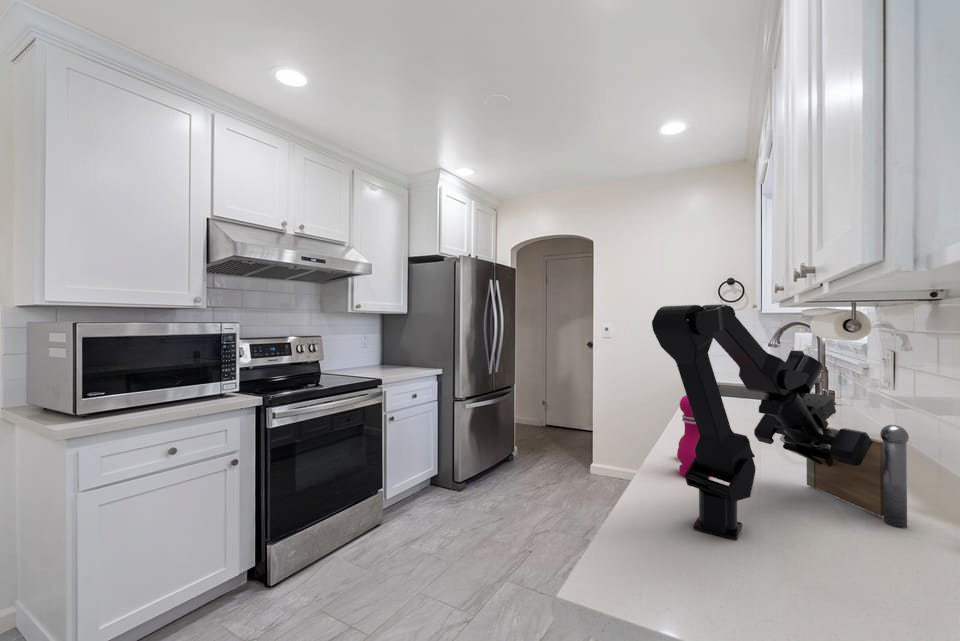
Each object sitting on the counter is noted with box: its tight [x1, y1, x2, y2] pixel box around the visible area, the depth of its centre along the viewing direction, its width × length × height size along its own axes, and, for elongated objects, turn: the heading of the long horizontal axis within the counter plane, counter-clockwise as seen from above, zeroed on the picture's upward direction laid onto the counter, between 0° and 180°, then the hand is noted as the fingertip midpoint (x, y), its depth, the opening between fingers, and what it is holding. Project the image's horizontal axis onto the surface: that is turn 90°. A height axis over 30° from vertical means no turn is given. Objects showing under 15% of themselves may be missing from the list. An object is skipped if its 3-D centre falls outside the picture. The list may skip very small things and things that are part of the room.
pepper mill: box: [676, 394, 711, 479], centre depth 102 cm, size 7×7×20 cm
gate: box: [806, 426, 883, 517], centre depth 86 cm, size 2×16×14 cm, turn 5°
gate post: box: [879, 424, 910, 529], centre depth 77 cm, size 4×4×17 cm
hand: (826, 463), depth 89 cm, fingers closed
